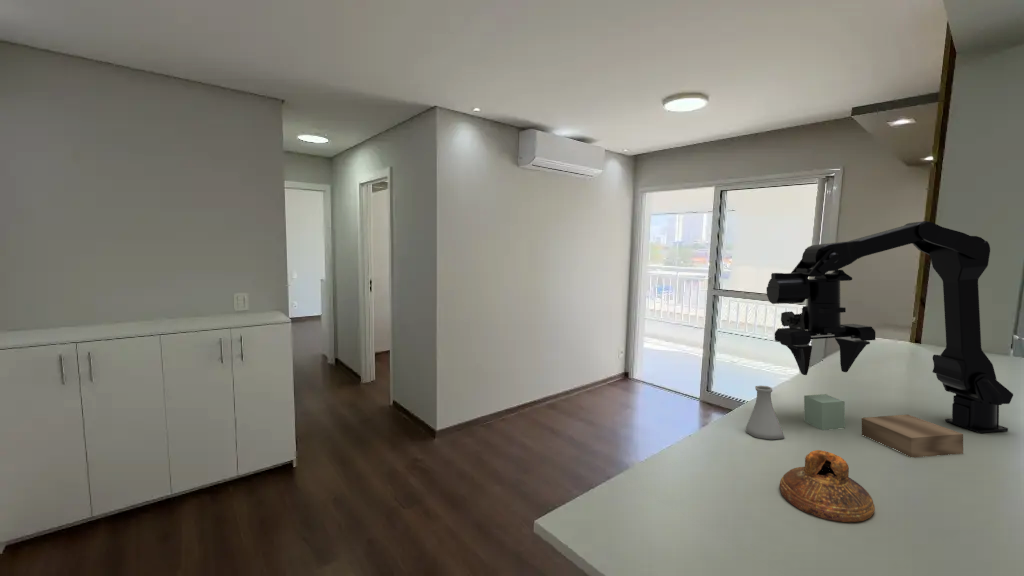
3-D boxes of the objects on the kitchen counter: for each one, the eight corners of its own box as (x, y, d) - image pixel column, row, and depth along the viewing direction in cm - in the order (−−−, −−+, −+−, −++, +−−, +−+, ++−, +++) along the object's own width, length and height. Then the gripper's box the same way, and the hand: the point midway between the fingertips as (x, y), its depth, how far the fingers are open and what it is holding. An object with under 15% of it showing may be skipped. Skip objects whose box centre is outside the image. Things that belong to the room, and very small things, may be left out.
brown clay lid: (889, 506, 61) (889, 459, 61) (851, 535, 55) (851, 483, 55) (802, 473, 71) (802, 432, 71) (763, 495, 66) (762, 451, 65)
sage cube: (825, 420, 93) (825, 394, 93) (844, 428, 88) (844, 401, 88) (804, 421, 93) (804, 395, 92) (822, 430, 88) (822, 402, 87)
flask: (791, 441, 83) (790, 393, 83) (752, 440, 85) (751, 392, 84) (775, 427, 90) (775, 382, 90) (740, 426, 92) (739, 382, 91)
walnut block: (907, 433, 85) (907, 414, 85) (963, 455, 75) (963, 433, 75) (861, 436, 85) (861, 417, 84) (911, 459, 75) (911, 437, 74)
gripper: (833, 297, 97) (833, 362, 98) (757, 301, 96) (758, 367, 97) (877, 301, 86) (878, 374, 87) (792, 306, 85) (793, 380, 86)
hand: (824, 373), depth 90 cm, fingers open, 9 cm apart
